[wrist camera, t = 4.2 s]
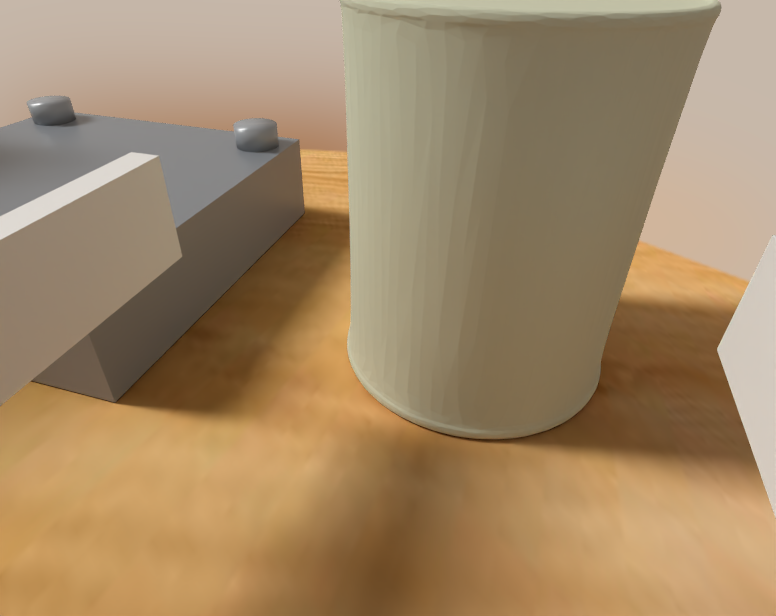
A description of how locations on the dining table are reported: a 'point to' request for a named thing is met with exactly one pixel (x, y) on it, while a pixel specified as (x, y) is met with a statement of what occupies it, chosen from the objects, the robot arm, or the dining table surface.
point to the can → (502, 194)
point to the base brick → (190, 212)
